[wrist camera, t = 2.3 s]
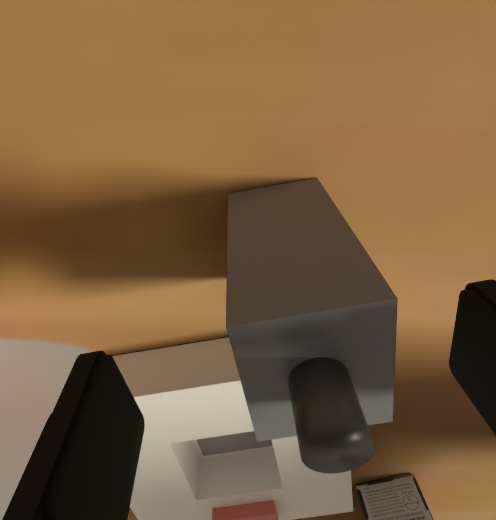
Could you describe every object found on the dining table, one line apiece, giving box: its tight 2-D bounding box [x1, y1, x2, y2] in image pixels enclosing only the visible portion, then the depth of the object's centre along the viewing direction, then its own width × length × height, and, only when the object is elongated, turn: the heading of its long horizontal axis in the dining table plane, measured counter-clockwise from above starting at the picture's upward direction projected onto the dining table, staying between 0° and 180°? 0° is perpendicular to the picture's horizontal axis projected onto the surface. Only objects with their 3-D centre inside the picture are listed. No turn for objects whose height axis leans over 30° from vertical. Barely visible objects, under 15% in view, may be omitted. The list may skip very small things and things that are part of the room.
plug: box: [226, 178, 397, 474], centre depth 13 cm, size 4×4×11 cm
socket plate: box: [112, 337, 353, 520], centre depth 22 cm, size 14×14×4 cm
